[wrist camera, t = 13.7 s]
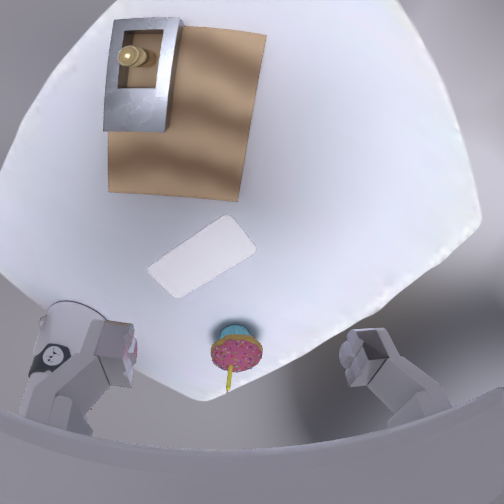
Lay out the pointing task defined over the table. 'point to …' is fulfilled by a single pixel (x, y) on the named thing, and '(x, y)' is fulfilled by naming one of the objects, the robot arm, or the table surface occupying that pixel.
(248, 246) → the smartphone
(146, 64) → the post
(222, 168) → the oak board
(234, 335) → the cupcake
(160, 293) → the table surface
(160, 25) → the steel link
